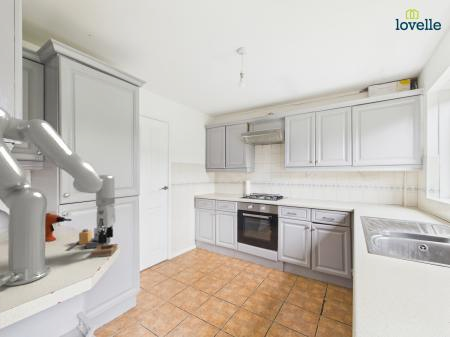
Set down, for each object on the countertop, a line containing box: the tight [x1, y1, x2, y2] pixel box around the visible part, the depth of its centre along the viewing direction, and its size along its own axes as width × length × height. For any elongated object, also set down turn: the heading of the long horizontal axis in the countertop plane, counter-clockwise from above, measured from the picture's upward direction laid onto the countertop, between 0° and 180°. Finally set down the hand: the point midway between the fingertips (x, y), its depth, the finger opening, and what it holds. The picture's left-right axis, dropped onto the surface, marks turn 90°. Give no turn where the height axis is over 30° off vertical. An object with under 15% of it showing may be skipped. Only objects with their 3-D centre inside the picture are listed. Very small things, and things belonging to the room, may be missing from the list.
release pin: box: [78, 228, 92, 246], centre depth 107 cm, size 4×4×7 cm
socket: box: [85, 237, 111, 250], centre depth 104 cm, size 8×8×3 cm
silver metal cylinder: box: [93, 227, 98, 242], centre depth 104 cm, size 4×4×8 cm
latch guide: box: [67, 237, 94, 252], centre depth 104 cm, size 13×7×1 cm, turn 10°
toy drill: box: [45, 212, 72, 243], centre depth 109 cm, size 5×19×15 cm, turn 78°
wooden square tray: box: [91, 243, 118, 258], centre depth 95 cm, size 8×8×2 cm
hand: (106, 239), depth 95 cm, fingers open, 7 cm apart
